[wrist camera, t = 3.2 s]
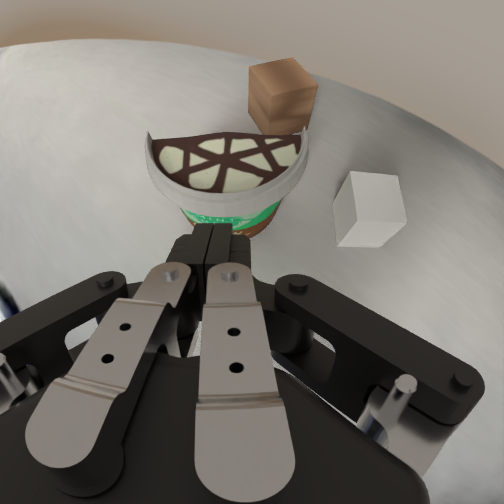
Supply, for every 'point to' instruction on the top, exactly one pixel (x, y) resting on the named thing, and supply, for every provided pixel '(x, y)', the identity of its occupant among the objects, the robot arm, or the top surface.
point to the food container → (227, 175)
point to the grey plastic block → (368, 210)
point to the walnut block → (280, 97)
